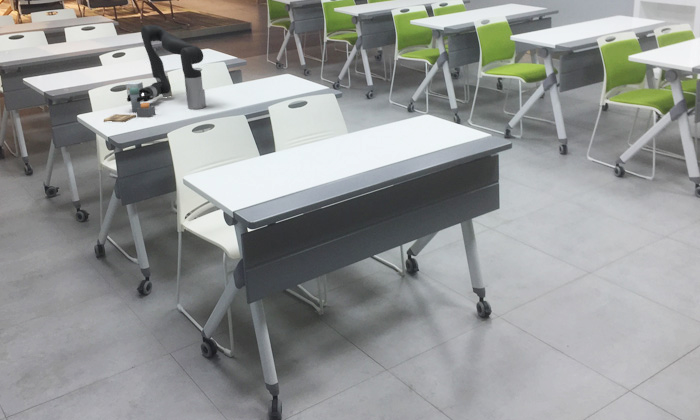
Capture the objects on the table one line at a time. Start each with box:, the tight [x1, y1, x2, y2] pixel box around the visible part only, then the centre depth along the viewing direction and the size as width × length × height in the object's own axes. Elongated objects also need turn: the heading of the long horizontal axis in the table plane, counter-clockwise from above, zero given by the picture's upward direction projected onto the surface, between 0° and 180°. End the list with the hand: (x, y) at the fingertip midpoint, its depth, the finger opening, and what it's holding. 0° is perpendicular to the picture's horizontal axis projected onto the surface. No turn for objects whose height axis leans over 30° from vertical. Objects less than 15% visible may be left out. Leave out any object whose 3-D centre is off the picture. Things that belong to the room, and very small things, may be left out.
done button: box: [140, 102, 150, 108], centre depth 391 cm, size 4×4×3 cm
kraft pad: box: [103, 113, 137, 123], centre depth 387 cm, size 12×12×1 cm
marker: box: [129, 87, 141, 113], centre depth 401 cm, size 5×5×13 cm
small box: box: [125, 81, 144, 96], centre depth 429 cm, size 8×6×10 cm
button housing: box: [136, 105, 156, 118], centre depth 392 cm, size 7×7×4 cm
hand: (132, 99), depth 398 cm, fingers open, 5 cm apart
